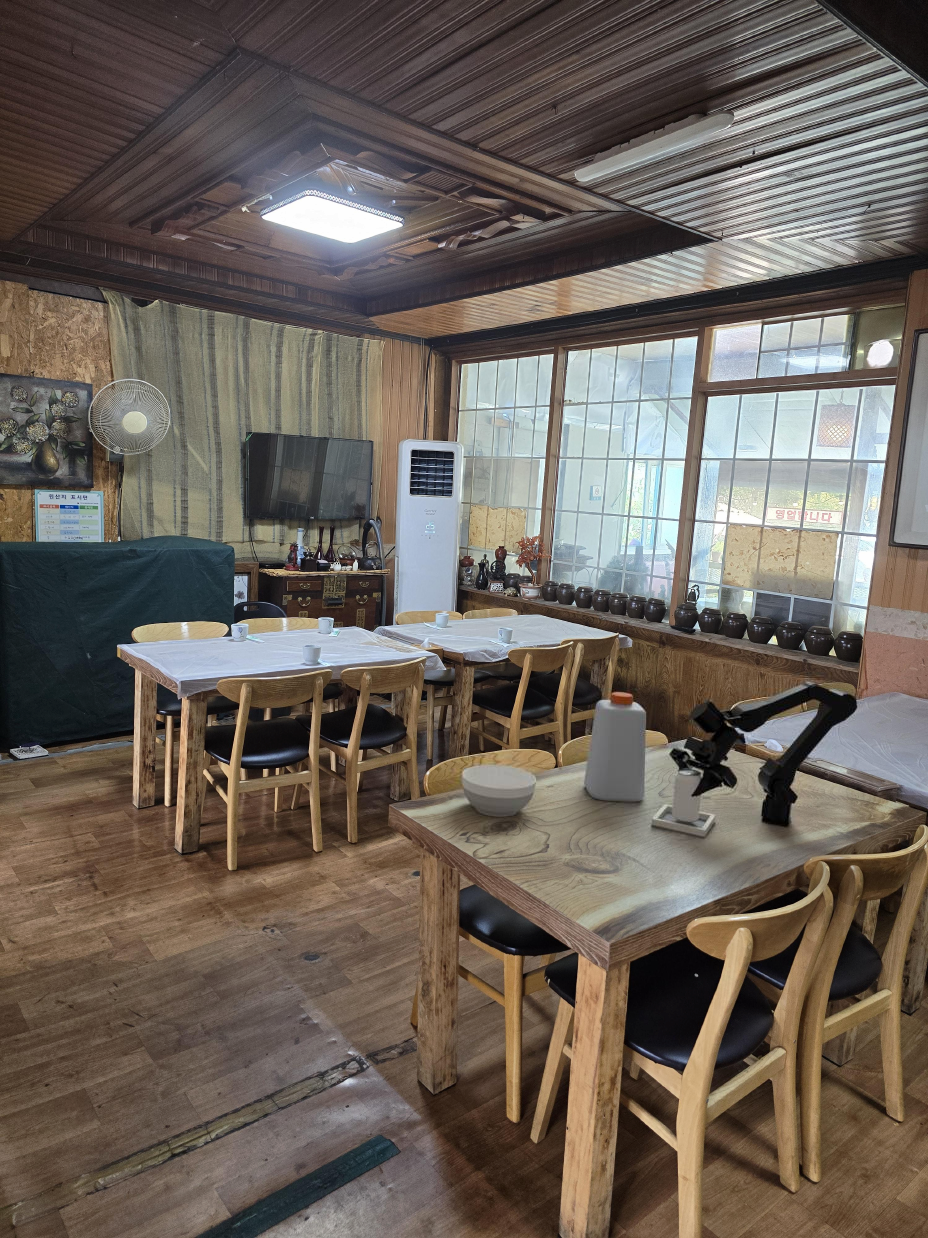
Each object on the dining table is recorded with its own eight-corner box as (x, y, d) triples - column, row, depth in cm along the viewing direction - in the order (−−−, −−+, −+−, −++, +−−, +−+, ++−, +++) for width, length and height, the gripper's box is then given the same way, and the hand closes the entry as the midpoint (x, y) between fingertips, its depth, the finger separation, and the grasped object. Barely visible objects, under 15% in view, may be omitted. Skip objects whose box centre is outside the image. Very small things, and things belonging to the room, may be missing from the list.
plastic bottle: (633, 785, 240) (642, 689, 236) (647, 804, 225) (656, 702, 221) (581, 783, 239) (589, 686, 235) (591, 801, 224) (599, 699, 220)
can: (669, 819, 210) (673, 772, 208) (675, 811, 215) (679, 766, 214) (695, 824, 207) (699, 777, 205) (701, 817, 212) (705, 771, 211)
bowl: (529, 827, 203) (531, 792, 202) (452, 817, 206) (454, 782, 205) (537, 802, 221) (540, 769, 220) (467, 792, 225) (469, 761, 224)
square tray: (714, 822, 214) (715, 815, 214) (704, 838, 203) (705, 830, 203) (664, 811, 220) (664, 804, 220) (651, 826, 209) (651, 818, 208)
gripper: (677, 717, 218) (642, 763, 214) (733, 735, 202) (696, 785, 198) (696, 743, 223) (662, 789, 219) (752, 763, 207) (717, 813, 203)
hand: (683, 793), depth 210 cm, fingers closed on can, 5 cm apart
